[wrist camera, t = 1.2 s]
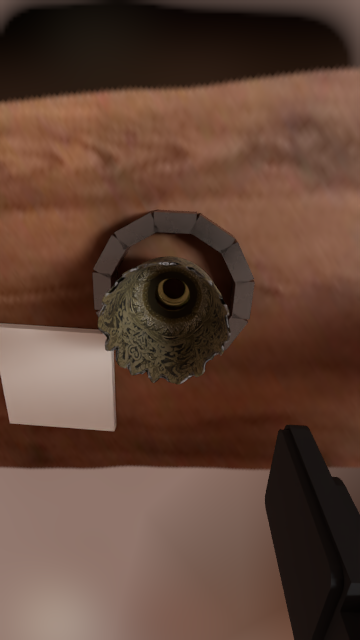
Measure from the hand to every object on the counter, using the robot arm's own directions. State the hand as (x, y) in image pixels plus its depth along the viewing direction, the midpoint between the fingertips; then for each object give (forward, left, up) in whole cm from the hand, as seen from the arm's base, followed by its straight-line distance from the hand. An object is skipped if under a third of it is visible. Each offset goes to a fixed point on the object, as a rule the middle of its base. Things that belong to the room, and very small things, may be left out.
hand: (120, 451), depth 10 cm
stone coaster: (+10, +9, -17) cm, 22 cm away
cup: (0, 0, -17) cm, 17 cm away
